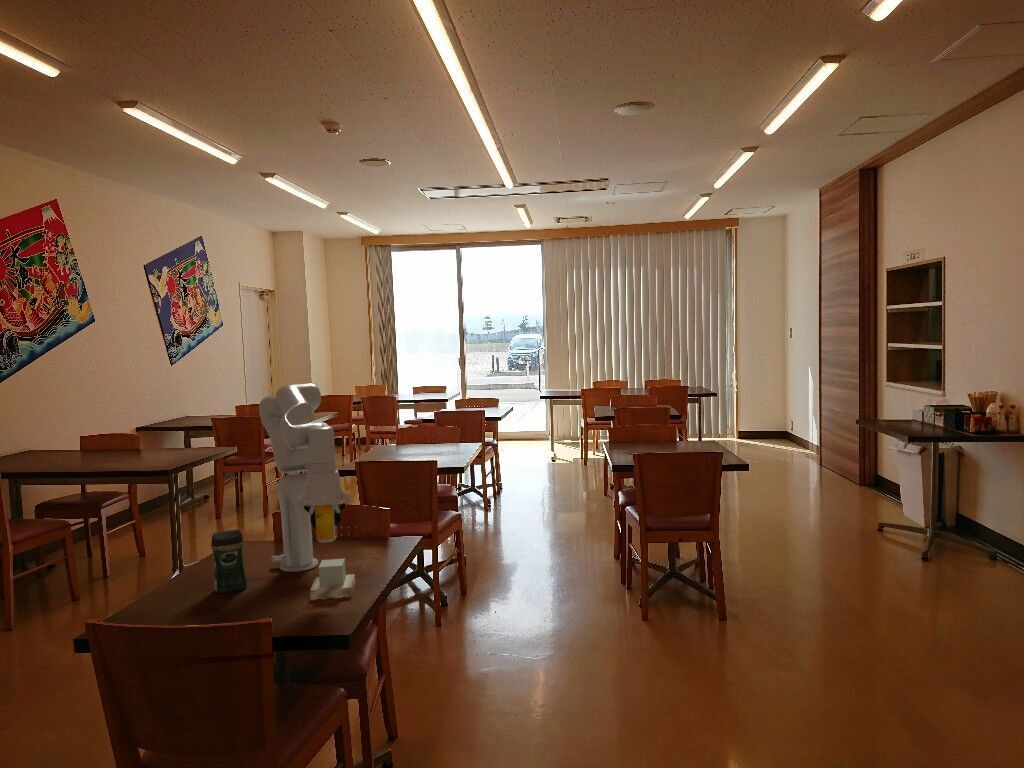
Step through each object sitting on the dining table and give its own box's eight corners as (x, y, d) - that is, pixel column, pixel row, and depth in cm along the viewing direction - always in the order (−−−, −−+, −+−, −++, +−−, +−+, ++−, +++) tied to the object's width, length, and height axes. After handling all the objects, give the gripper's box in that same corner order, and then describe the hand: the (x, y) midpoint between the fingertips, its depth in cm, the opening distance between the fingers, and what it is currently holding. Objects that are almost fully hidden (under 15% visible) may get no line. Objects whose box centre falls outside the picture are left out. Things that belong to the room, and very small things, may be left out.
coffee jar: (246, 582, 238) (242, 526, 236) (247, 590, 231) (243, 532, 229) (214, 587, 234) (209, 530, 233) (214, 595, 227) (210, 536, 225)
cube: (319, 586, 222) (318, 567, 221) (323, 579, 229) (321, 560, 228) (343, 585, 223) (342, 565, 222) (345, 577, 230) (344, 558, 229)
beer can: (318, 537, 227) (315, 489, 225) (338, 536, 227) (336, 488, 226) (314, 543, 221) (311, 494, 219) (335, 542, 221) (332, 493, 220)
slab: (310, 600, 219) (309, 590, 219) (316, 586, 231) (316, 577, 231) (351, 596, 221) (351, 587, 221) (355, 583, 233) (354, 574, 232)
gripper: (291, 471, 217) (294, 530, 219) (350, 468, 219) (353, 527, 221) (296, 466, 225) (299, 523, 226) (353, 463, 226) (356, 520, 228)
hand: (326, 525), depth 224 cm, fingers closed on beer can, 6 cm apart
